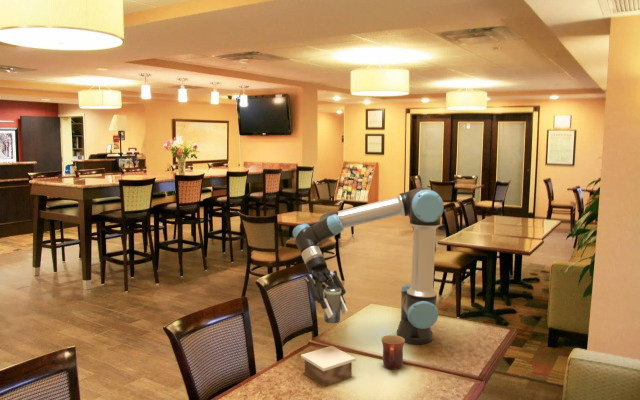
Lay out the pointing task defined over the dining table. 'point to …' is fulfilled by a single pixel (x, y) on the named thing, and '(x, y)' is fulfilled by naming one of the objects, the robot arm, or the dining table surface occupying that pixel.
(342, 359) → the pedestal
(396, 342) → the mug
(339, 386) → the dining table surface
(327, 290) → the grey can
